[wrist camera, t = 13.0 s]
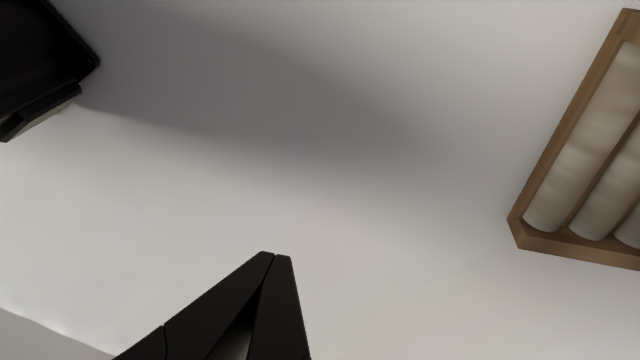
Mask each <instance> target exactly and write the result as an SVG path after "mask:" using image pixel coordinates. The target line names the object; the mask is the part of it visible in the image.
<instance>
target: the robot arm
mask: <svg viewBox="0 0 640 360" xmlns="http://www.w3.org/2000/svg"><path fill="white" fill-rule="evenodd" d="M87 58H88V59H89V60H90V61H91V64H90V63H89V62H88V61H87ZM99 66H100V60H99V58H98V56H97V55H96V54H95V53H94V52H93V51H92V49H91V48H90V47H89V46H88V45H87V44H86V43H85V42H84V41H83V39H82V38H81V37H80V36H79V35H78V34H77V33H76V32H75V31H74V29H73V28H72V27H71V26H70V25H69V24H68V23H67V22H66V21H65V20H64V18H63V17H62V16H61V15H60V14H59V13H58V12H57V11H56V10H55V8H54V7H53V6H52V5H51V4H50V3H49V2H48V1H47V0H0V142H4V143H7V142H9V141H10V140H12V139H14V138H15V137H17V136H19V135H20V134H22V133H24V132H26V131H27V130H29V129H31V128H32V127H34V126H36V125H37V124H39V123H41V122H42V121H44V120H46V119H47V118H49V117H51V116H53V115H54V114H56V113H58V112H59V111H60V110H62V109H63V108H64V107H65V106H66V105H68V104H69V103H70V102H71V101H72V100H74V99H75V98H76V97H77V96H78V95H80V94H81V93H82V87H81V86H80V85H79V84H80V83H81V82H83V81H84V80H85V79H86V78H87V77H88V76H90V75H91V74H92V73H93V72H94V71H95V70H97V69H98V68H99ZM163 326H164V327H163ZM112 360H312V359H311V357H310V351H309V346H308V341H307V336H306V331H305V326H304V321H303V316H302V311H301V306H300V301H299V296H298V291H297V286H296V281H295V276H294V272H293V267H292V262H291V258H290V257H289V256H285V255H280V254H277V255H275V254H274V253H270V252H265V251H260V252H259V253H257V254H256V255H255V256H253V257H252V258H251V259H249V260H248V261H247V262H245V263H244V264H243V265H241V266H240V267H239V268H237V269H236V270H235V271H233V272H232V273H231V274H229V275H228V276H227V277H225V278H224V279H223V280H221V281H220V282H219V283H217V284H216V285H215V286H213V287H212V288H211V289H209V290H208V291H207V292H205V293H204V294H203V295H201V296H200V297H199V298H197V299H196V300H195V301H193V302H192V303H191V304H189V305H188V306H187V307H185V308H184V309H183V310H181V311H180V312H179V313H177V314H176V315H175V316H173V317H172V318H171V319H169V320H168V321H167V322H165V323H164V325H161V326H159V327H158V328H156V329H155V330H154V331H152V332H151V333H150V334H148V335H147V336H146V337H144V338H143V339H141V340H140V341H139V342H137V343H136V344H134V345H133V346H132V347H130V348H129V349H127V350H126V351H124V352H123V353H121V354H120V355H118V356H117V357H115V358H114V359H112Z"/></svg>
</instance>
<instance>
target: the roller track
mask: <svg viewBox="0 0 640 360" xmlns="http://www.w3.org/2000/svg"><path fill="white" fill-rule="evenodd" d="M507 222H508V224H509V227H510V229H511V232H512V234H513V237H514V239H515V242H516V244H517V247H518V249H523V250H529V251H534V252H539V253H545V254H550V255H555V256H561V257H566V258H571V259H577V260H582V261H587V262H593V263H598V264H603V265H609V266H614V267H619V268H624V269H630V270H635V271H640V10H635V9H628V8H623V9H622V11H621V12H620V14H619V16H618V18H617V20H616V22H615V23H614V25H613V27H612V29H611V31H610V32H609V34H608V36H607V38H606V40H605V41H604V43H603V45H602V47H601V49H600V51H599V52H598V54H597V56H596V58H595V60H594V61H593V63H592V65H591V67H590V69H589V70H588V72H587V74H586V76H585V78H584V80H583V81H582V83H581V85H580V87H579V89H578V90H577V92H576V94H575V96H574V98H573V99H572V101H571V103H570V105H569V107H568V109H567V110H566V112H565V114H564V116H563V118H562V119H561V121H560V123H559V125H558V127H557V128H556V130H555V132H554V134H553V136H552V138H551V139H550V141H549V143H548V145H547V147H546V148H545V150H544V152H543V154H542V156H541V157H540V159H539V161H538V163H537V165H536V167H535V168H534V170H533V172H532V174H531V176H530V177H529V179H528V181H527V183H526V185H525V186H524V188H523V190H522V192H521V194H520V196H519V197H518V199H517V201H516V203H515V205H514V206H513V208H512V210H511V212H510V214H509V215H508V217H507Z"/></svg>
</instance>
